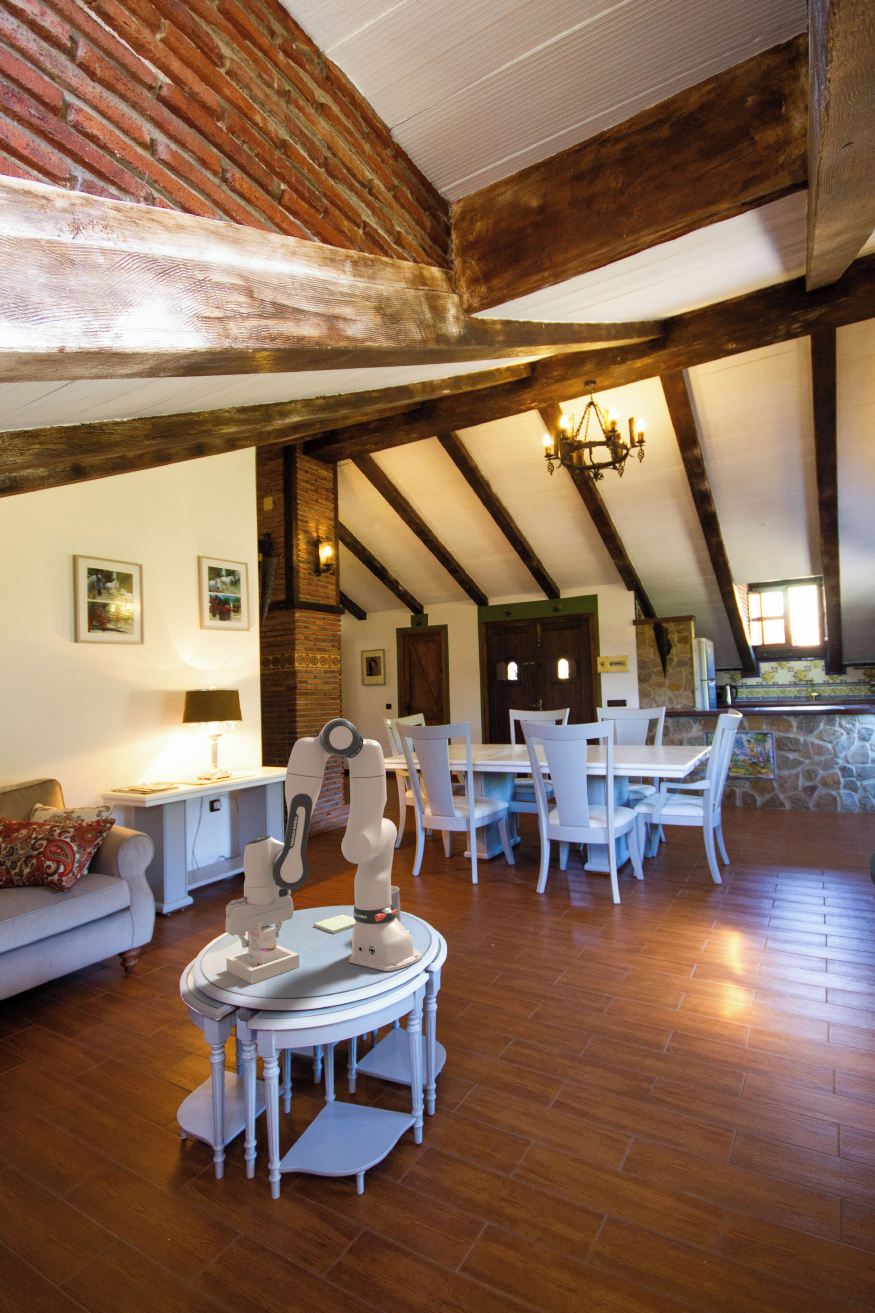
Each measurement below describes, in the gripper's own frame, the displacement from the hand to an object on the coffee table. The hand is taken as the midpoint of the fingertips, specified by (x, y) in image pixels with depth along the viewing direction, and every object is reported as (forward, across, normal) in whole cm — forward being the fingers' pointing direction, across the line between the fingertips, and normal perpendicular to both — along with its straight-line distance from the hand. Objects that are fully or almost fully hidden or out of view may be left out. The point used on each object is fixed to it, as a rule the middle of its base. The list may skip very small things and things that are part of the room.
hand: (260, 942), depth 189 cm
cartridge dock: (+7, 0, 0) cm, 7 cm away
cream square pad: (+7, +36, +14) cm, 40 cm away
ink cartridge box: (+8, 0, 0) cm, 8 cm away
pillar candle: (+7, +42, -5) cm, 43 cm away
